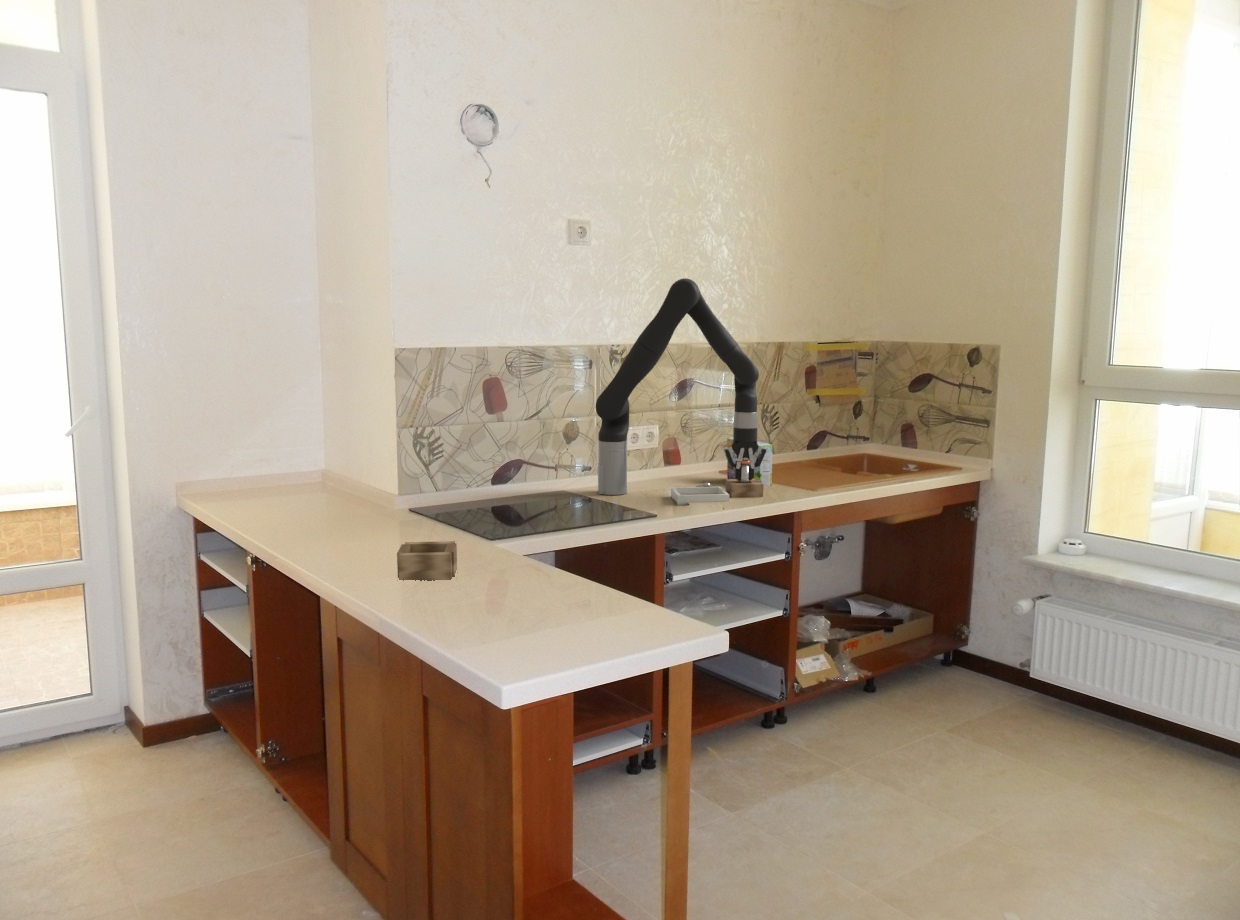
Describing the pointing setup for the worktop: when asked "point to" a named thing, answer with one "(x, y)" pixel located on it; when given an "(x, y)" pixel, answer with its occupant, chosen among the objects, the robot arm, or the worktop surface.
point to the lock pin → (744, 471)
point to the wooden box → (744, 488)
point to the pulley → (706, 485)
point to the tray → (713, 495)
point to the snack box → (761, 472)
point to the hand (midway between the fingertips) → (744, 479)
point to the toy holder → (427, 560)
